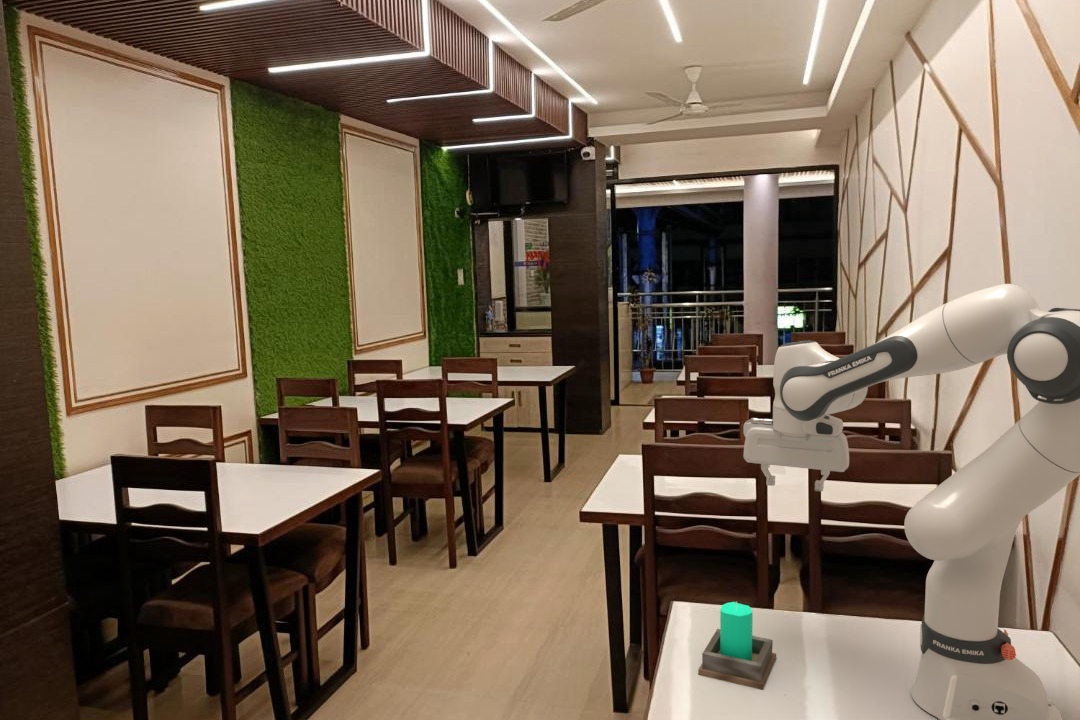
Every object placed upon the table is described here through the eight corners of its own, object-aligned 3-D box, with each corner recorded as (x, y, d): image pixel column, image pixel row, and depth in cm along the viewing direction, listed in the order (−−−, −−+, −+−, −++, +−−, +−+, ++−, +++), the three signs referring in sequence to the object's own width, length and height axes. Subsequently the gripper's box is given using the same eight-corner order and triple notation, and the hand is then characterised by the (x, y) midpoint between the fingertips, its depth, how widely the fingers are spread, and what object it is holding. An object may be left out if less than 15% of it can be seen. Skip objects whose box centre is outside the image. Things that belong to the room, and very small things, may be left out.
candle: (745, 672, 144) (746, 611, 142) (715, 663, 147) (715, 603, 146) (756, 657, 149) (757, 598, 147) (727, 649, 152) (727, 591, 150)
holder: (776, 658, 150) (776, 638, 150) (763, 689, 140) (763, 668, 139) (715, 645, 156) (715, 626, 155) (698, 674, 145) (698, 654, 145)
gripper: (739, 420, 156) (739, 486, 158) (847, 428, 147) (845, 498, 148) (747, 414, 162) (746, 477, 164) (851, 421, 152) (849, 489, 154)
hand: (794, 487), depth 156 cm, fingers open, 8 cm apart
